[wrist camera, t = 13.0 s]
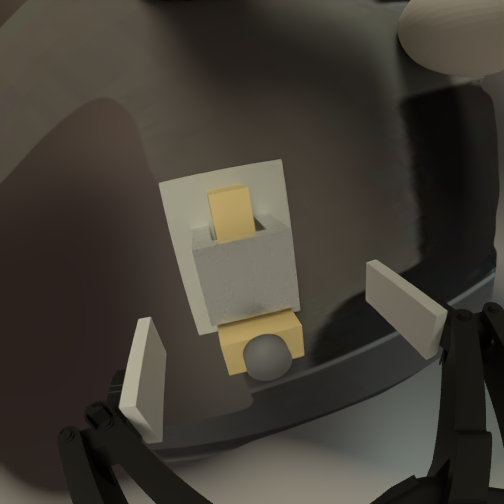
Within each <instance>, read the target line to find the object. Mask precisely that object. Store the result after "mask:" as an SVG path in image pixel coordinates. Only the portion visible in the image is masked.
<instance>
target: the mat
mask: <svg viewBox="0 0 504 504" xmlns="http://www.w3.org/2000/svg"><path fill="white" fill-rule="evenodd" d="M237 184H243V185H245V186H247V187H248V190H249V196H250V202H251V208H252V214H253V216H255V215H260V214H265V213H270V214H271V215H273V216H274V217H275V218H277V219H278V220H279V221H281V222H282V223H283V224H285V225H286V226H287V227H289V228H290V229H291V223H290V216H289V208H288V201H287V194H286V187H285V180H284V173H283V166H282V160H281V159H279V160H272V161H266V162H260V163H254V164H248V165H242V166H237V167H231V168H226V169H221V170H216V171H211V172H206V173H201V174H196V175H192V176H187V177H183V178H178V179H174V180H170V181H166V182H161V183H159V187H160V192H161V196H162V201H163V205H164V210H165V214H166V218H167V222H168V227H169V231H170V235H171V239H172V243H173V246H174V250H175V254H176V258H177V262H178V265H179V269H180V273H181V276H182V280H183V283H184V287H185V290H186V293H187V297H188V301H189V304H190V307H191V310H192V314H193V317H194V320H195V323H196V327H197V330H198V333H199V335H203V334H208V333H212V332H217V331H218V327H217V325H216V326H211V322H210V319H209V315H208V311H207V308H206V304H205V300H204V296H203V293H202V289H201V285H200V281H199V277H198V273H197V269H196V265H195V261H194V257H193V253H192V229H193V228H198V227H202V226H207V225H209V230H210V234H211V238H212V241H214V240H216V236H215V231H214V227H213V222H212V217H211V212H210V207H209V202H208V197H207V192H206V191H208V190H213V189H217V188H222V187H227V186H232V185H237ZM253 220H254V219H253ZM291 233H292V231H291ZM292 241H293V239H292ZM293 250H294V247H293ZM294 259H295V256H294ZM295 268H296V264H295ZM296 277H297V273H296ZM297 287H298V282H297ZM298 297H299V292H298ZM290 308H291V309H292V311H293V312H297V311H300V302H299V305H298V306H294V307H290Z"/></svg>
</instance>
